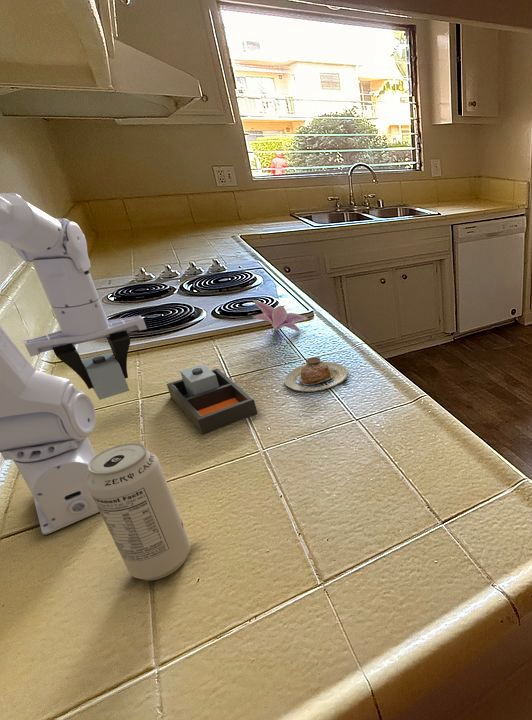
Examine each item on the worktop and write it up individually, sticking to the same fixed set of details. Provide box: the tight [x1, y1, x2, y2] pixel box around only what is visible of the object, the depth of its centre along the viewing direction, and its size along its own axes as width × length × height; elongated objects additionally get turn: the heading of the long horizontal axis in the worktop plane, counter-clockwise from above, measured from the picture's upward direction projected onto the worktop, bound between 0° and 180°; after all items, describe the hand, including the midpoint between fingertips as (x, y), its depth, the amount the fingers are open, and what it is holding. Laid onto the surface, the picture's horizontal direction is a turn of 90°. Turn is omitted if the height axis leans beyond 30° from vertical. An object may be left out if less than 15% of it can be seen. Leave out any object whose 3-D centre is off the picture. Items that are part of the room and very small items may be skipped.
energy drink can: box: [86, 442, 191, 582], centre depth 50 cm, size 6×6×15 cm
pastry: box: [283, 356, 349, 393], centre depth 91 cm, size 12×12×5 cm
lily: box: [252, 300, 309, 343], centre depth 109 cm, size 12×12×10 cm
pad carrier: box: [166, 367, 258, 436], centre depth 82 cm, size 17×9×3 cm, turn 46°
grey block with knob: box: [179, 363, 219, 397], centre depth 84 cm, size 6×4×6 cm, turn 46°
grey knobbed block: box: [81, 351, 130, 401], centre depth 75 cm, size 6×4×6 cm, turn 46°
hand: (107, 381), depth 75 cm, fingers closed on grey knobbed block, 4 cm apart
